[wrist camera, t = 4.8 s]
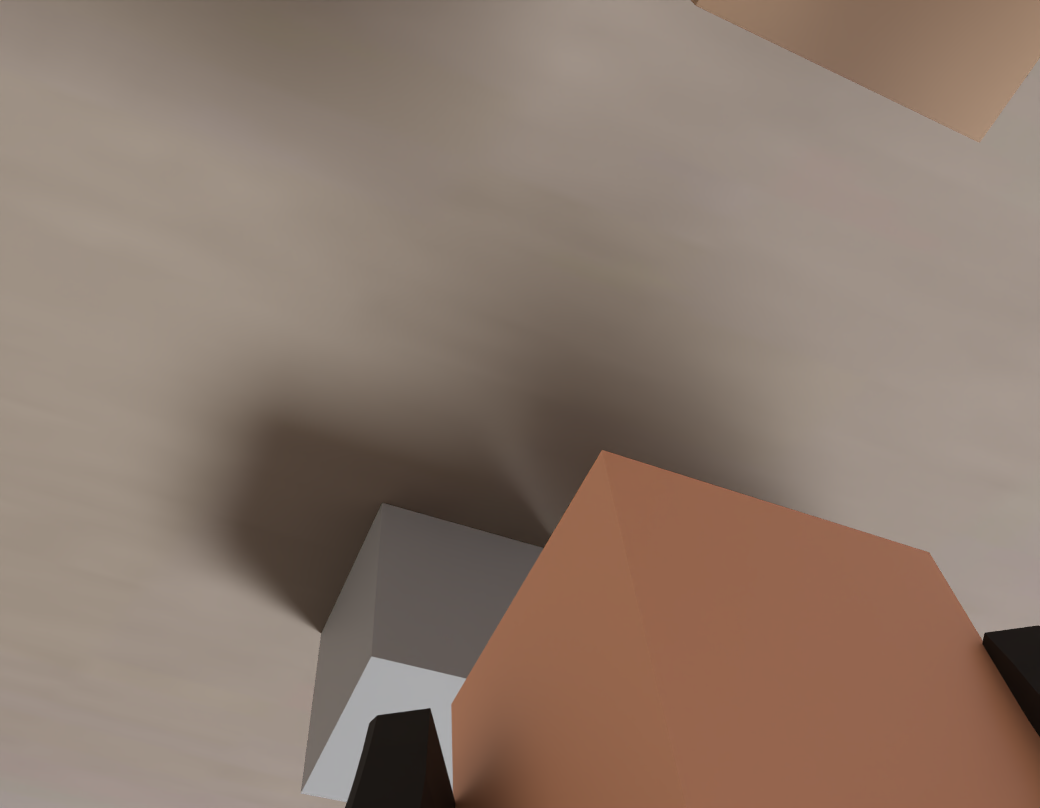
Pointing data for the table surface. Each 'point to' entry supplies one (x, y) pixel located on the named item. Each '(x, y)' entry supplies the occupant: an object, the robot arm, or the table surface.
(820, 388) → the table surface
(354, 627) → the light gray block
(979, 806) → the terracotta block
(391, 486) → the table surface
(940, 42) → the wooden cube
